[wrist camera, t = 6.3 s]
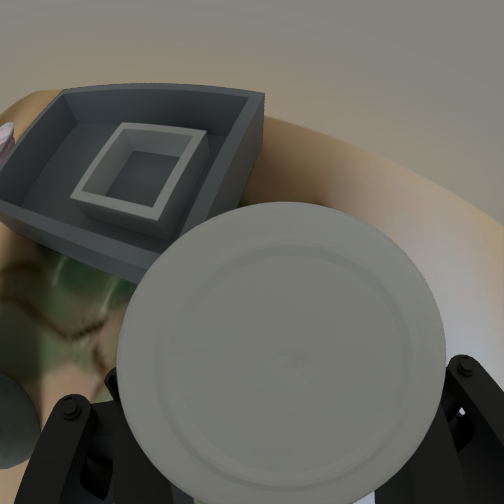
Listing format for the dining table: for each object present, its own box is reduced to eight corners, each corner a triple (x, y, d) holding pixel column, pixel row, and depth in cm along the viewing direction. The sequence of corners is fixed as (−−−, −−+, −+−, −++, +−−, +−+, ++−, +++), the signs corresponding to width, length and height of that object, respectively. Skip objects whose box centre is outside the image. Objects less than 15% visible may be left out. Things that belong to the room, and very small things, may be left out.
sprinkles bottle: (217, 334, 16) (100, 220, 4) (293, 321, 16) (398, 174, 4) (230, 409, 14) (148, 538, 2) (308, 394, 14) (473, 454, 2)
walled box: (10, 229, 22) (-22, 201, 16) (80, 123, 28) (63, 89, 22) (200, 306, 19) (180, 280, 13) (262, 143, 25) (264, 93, 20)
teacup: (44, 129, 28) (26, 99, 23) (48, 177, 24) (21, 142, 19) (-11, 175, 26) (-32, 151, 20) (-16, 232, 22) (-45, 207, 16)
